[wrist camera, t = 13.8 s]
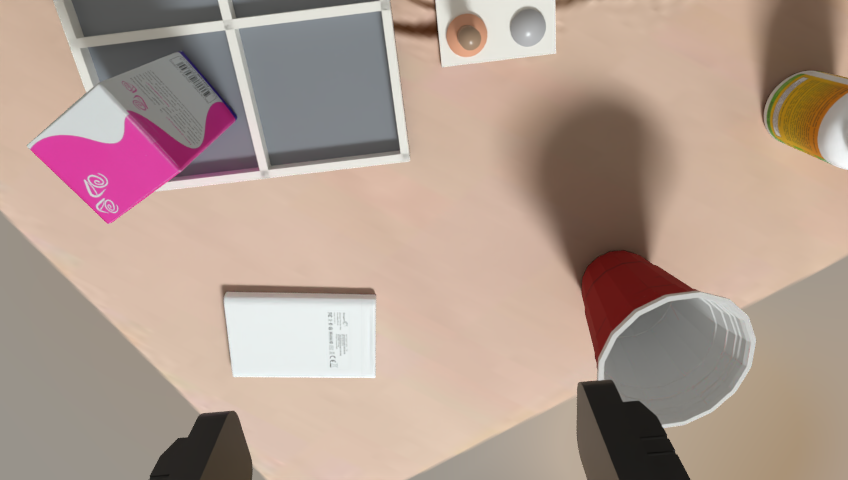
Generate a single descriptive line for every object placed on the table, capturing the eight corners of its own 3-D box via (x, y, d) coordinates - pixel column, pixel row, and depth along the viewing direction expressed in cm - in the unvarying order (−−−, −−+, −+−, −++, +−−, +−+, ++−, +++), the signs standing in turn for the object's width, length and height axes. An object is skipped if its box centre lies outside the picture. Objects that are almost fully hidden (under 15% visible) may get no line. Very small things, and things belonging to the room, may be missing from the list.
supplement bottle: (757, 147, 44) (846, 191, 35) (764, 75, 42) (862, 103, 33) (828, 136, 44) (936, 178, 35) (840, 64, 41) (958, 88, 33)
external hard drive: (228, 287, 48) (376, 290, 49) (237, 367, 52) (376, 369, 52) (222, 297, 47) (375, 300, 47) (232, 378, 50) (375, 380, 51)
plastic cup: (687, 315, 50) (766, 410, 39) (565, 346, 51) (609, 447, 40) (675, 204, 46) (760, 277, 35) (542, 240, 47) (584, 322, 36)
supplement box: (119, 99, 40) (19, 143, 29) (182, 48, 38) (100, 76, 28) (180, 165, 42) (106, 228, 31) (241, 118, 41) (185, 169, 30)
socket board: (366, -186, 34) (364, -195, 32) (409, 153, 43) (410, 161, 41) (21, -141, 35) (0, -147, 33) (134, 186, 43) (122, 195, 42)
